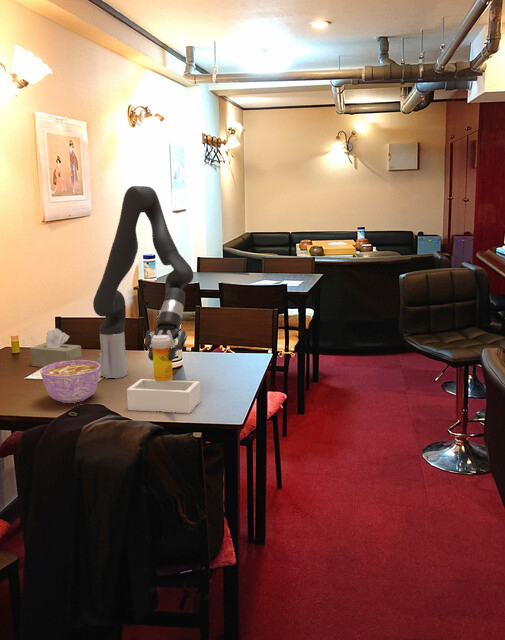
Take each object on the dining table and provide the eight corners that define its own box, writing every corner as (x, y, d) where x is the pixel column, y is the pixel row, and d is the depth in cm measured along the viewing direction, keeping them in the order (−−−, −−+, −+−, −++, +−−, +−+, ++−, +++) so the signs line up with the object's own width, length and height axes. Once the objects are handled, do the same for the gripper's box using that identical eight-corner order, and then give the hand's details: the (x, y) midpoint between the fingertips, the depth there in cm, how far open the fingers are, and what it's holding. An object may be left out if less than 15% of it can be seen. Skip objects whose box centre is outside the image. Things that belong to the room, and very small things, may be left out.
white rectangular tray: (128, 410, 208) (126, 389, 207) (141, 398, 219) (140, 378, 218) (189, 413, 204) (188, 392, 202) (200, 401, 215) (199, 381, 214)
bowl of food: (100, 388, 232) (97, 357, 230) (106, 405, 213) (103, 371, 211) (42, 395, 226) (39, 363, 223) (43, 412, 207) (40, 378, 205)
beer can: (169, 384, 206) (166, 338, 203) (151, 383, 208) (148, 338, 205) (175, 378, 212) (172, 334, 209) (158, 378, 213) (155, 334, 210)
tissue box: (83, 364, 266) (80, 327, 263) (68, 370, 257) (65, 332, 254) (46, 360, 273) (43, 324, 270) (31, 366, 264) (27, 329, 261)
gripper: (147, 310, 214) (136, 353, 205) (188, 310, 211) (178, 354, 202) (154, 322, 220) (143, 364, 211) (193, 322, 217) (184, 365, 208)
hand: (160, 359), depth 207 cm, fingers closed on beer can, 6 cm apart
